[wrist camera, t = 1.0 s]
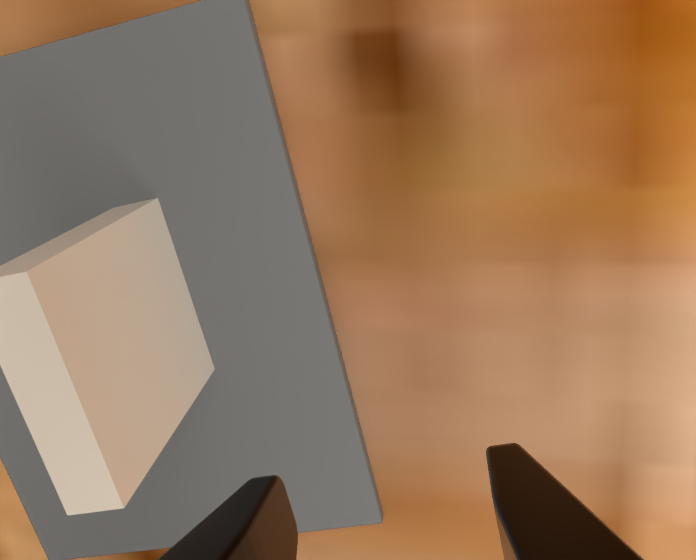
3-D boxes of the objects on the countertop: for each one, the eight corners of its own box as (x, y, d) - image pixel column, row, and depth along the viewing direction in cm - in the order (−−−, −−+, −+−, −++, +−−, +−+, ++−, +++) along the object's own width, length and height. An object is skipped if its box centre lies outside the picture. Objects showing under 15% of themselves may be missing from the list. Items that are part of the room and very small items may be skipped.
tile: (214, 369, 22) (124, 508, 15) (168, 377, 22) (60, 516, 15) (157, 197, 20) (26, 271, 13) (108, 208, 20) (-45, 286, 14)
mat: (383, 513, 24) (382, 523, 23) (56, 552, 26) (49, 561, 25) (246, -10, 18) (241, -11, 18) (-153, 102, 20) (-167, 103, 20)
